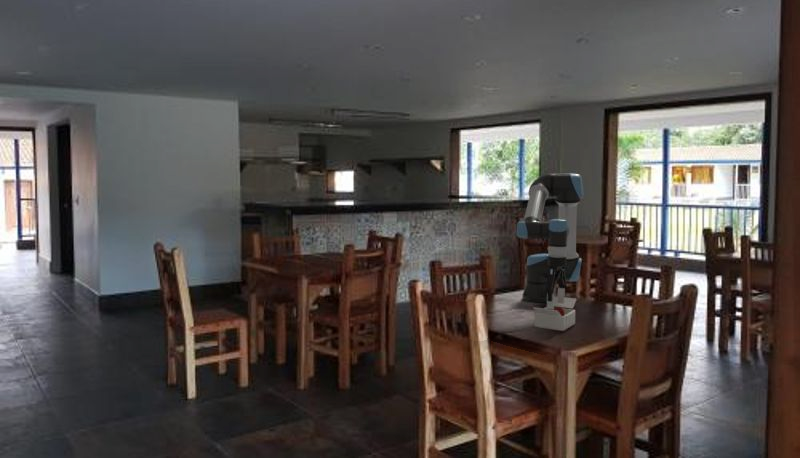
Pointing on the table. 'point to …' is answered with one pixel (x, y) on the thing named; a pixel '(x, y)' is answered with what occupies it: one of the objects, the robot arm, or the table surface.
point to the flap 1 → (547, 311)
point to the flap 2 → (565, 302)
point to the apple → (559, 310)
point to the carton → (555, 320)
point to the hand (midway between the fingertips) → (555, 305)
